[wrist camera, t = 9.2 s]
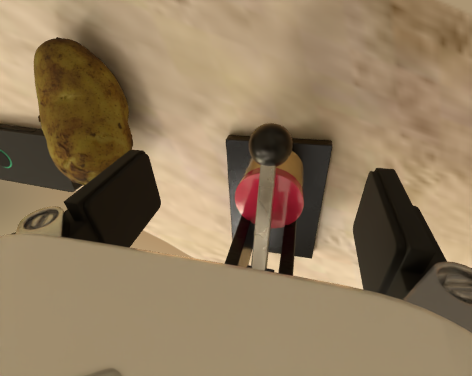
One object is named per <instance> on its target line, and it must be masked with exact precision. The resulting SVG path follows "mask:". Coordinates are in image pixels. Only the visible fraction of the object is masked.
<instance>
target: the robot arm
mask: <svg viewBox="0 0 472 376" xmlns="http://www.w3.org/2000/svg"><path fill="white" fill-rule="evenodd" d="M64 203H65V205H66V207H67V210H66V211H65V212H64V211H63V209H62V208H60V207H56V206H52V207H46V208H42V209H39V210H36V211H35V212H32V213H30V214H29V215H27V216H26V217H24V219H22V220H21V221H20V223H19V225H18V228H17V231H16V232H15V233H12V234H9V235H2V236H0V376H472V268H470V267H467V266H465V265H462V264H458V263H455V262H447V261H446V259H445V257H444V255H443V253H442V251H441V249H440V247H439V246H438V244H437V242H436V240H435V238H434V236H433V234H432V232H431V230H430V229H429V227H428V225H427V223H426V221H425V219H424V217H423V215H422V213H421V212H420V210H419V209H418V207H416V206H413V205H412V203H411V201H410V199H409V197H408V195H407V193H406V191H405V189H404V187H403V185H402V183H401V181H400V179H399V178H398V176H397V174H396V172H395V170H394V169H383V168H376V169H375V171H374V172H372V171H370V172H369V174H368V177H367V181H366V184H365V188H364V191H363V194H362V198H361V201H360V204H359V208H358V211H357V215H356V218H355V221H354V225H353V234H354V240H355V245H356V251H357V256H358V262H359V267H360V273H361V278H362V284H363V289H364V290H362V289H358V288H353V287H349V286H344V285H339V284H334V283H329V282H323V281H318V280H312V279H307V278H302V277H297V276H291V275H285V274H280V273H274V272H268V271H263V270H257V269H251V268H246V267H240V266H234V265H229V264H223V263H217V262H211V261H206V260H200V259H194V258H188V257H182V256H176V255H170V254H164V253H159V252H153V251H147V250H141V249H135V248H129V247H130V246H131V245H132V244H133V242H134V241H135V240H136V238H137V237H138V236H139V234H140V233H141V232H142V230H143V229H144V228H145V226H146V225H147V224H148V222H149V221H150V220H151V218H152V217H153V216H154V215H155V213H156V212H157V211H158V209H159V208H160V205H161V200H160V196H159V192H158V189H157V185H156V181H155V178H154V174H153V170H152V167H151V163H150V159H149V156H148V155H147V154H145V152H144V151H140V150H129V151H128V152H127V153H125V154H124V155H123V156H121V157H120V158H119V159H118V160H116V161H115V162H114V163H113V164H111V165H110V166H109V167H107V168H106V169H105V170H104V171H102V172H101V173H100V174H99V175H97V176H96V177H95V178H93V179H92V180H91V181H90V182H88V183H87V184H86V185H85V186H83V187H82V188H81V189H79V190H78V191H77V192H76V193H74V194H73V195H72V196H70V197H69V198H68V199H67V200H66V201H64Z"/></svg>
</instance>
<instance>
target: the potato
mask: <svg viewBox="0 0 472 376" xmlns="http://www.w3.org/2000/svg"><path fill="white" fill-rule="evenodd" d="M34 75H35V86H36V92H37V98H38V104H39V113H40V115H39V116H38V118H39V122H41V126H42V131H43V133H44V136H45V138H46V140H47V147H48V150H49V153H50V156H51V158H52V160H53V162H54V163H55V165H56V167H57V168H58V169H59V171H60V172H62V173H63V174H64V175H65V176H66V177H68V178H69V180H71V181H72V182H73V183H79V184H82V185H86V184H87V183H88V182H90V181H91V180H92V179H93V178H95V177H96V176H97V175H99V174H100V173H101V172H102V171H104V170H105V169H106V168H107V167H109V166H110V165H111V164H113V163H114V162H115V161H116V160H118V159H119V158H120V157H121V156H123V155H124V154H125V153H127V152H128V151H129V150H132V146H133V140H132V135H131V131H130V128H129V125H128V117H129V109H128V104H127V101H126V98H125V96H124V94H123V91H122V89H121V87H120V85H119V83H118V82H117V80H116V78H115V77H114V75H113V74H112V73H111V71H110V70H109V69H108V68H107V67H106V66H105V64H104V63H103V62H102V61H101V60H100V59H98V58H97V57H96V56H95V55H94V54H92V53H91V52H90V51H89V50H88V49H87V48H85V47H84V46H82V45H81V44H79V43H78V42H75V41H73V40H70V39H62V38H58V37H57V38H56V39H51V40H48V41H46V42H44V43H43V44H42V45H40V46H39V47H38V49H37V50H36V53H35V57H34Z"/></svg>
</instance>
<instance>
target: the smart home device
mask: <svg viewBox="0 0 472 376" xmlns="http://www.w3.org/2000/svg"><path fill="white" fill-rule="evenodd" d="M0 179H2V180H7V181H13V182H18V183H23V184H29V185H34V186H40V187H45V188H51V189H57V190H62V191H68V192H74V191H75V190H76V189H78V188H79V187H81V186H82V184H79V183H73V182H72V181H71V180H69V178H68V177H66V176H65V175H64V174H63V173H62V172H60V171H59V169H58V168H57V167H56V165H55V163H54V162H53V160H52V158H51V156H50V153H49V150H48V147H47V140H46V138H45V136H44V133H43V131H42V130H40V129H33V128H25V127H18V126H10V125H2V124H0Z"/></svg>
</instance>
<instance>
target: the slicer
mask: <svg viewBox="0 0 472 376" xmlns="http://www.w3.org/2000/svg"><path fill="white" fill-rule="evenodd" d="M250 137H251V136H236V135H229V136H228V137H227V139H226V149H227V164H228V179H229V194H230V209H231V224H232V239H233V241H232V244H231V247H230V250H229V253H228V256H227V259H226V262H225V264H229V265H234V266H240V267H247V265H248V264H249V260H250V256H251V252H252V249H253V242H254V231H255V224H253V223H251V221H250V220H247V219H245V218H244V217H243V216H242V215H241V213H240V212H239V210H238V208H237V206H236V203H235V191H236V189H237V186H238V184H239V182H240V180H241V179H242V177H243V175H244V173H245V170H246V168H247V165H248V163H249V161H250V159H251V155H250V152H249V140H250ZM292 141H293V148H292V151H293V152H294V153H296V154H297V155H298V157H299V158H300V159H301V161H302V163H303V167H304V181H303V192H304V207H303V211H302V213H301V215H300V216H299V217H298V219H297V220H296V221H294V222H293V223H291V224H290V225H284V227H281V228H271V229H270V240H269V250H268V252H272V253H279V254H281V258H280V266H279V273H280V274H285V275H291V276H293V267H294V256H299V257H305V258H312V255H313V249H314V244H315V239H316V233H317V228H318V222H319V217H320V211H321V206H322V200H323V195H324V189H325V184H326V178H327V173H328V168H329V162H330V157H331V151H332V141H329V140H311V139H292Z"/></svg>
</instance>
